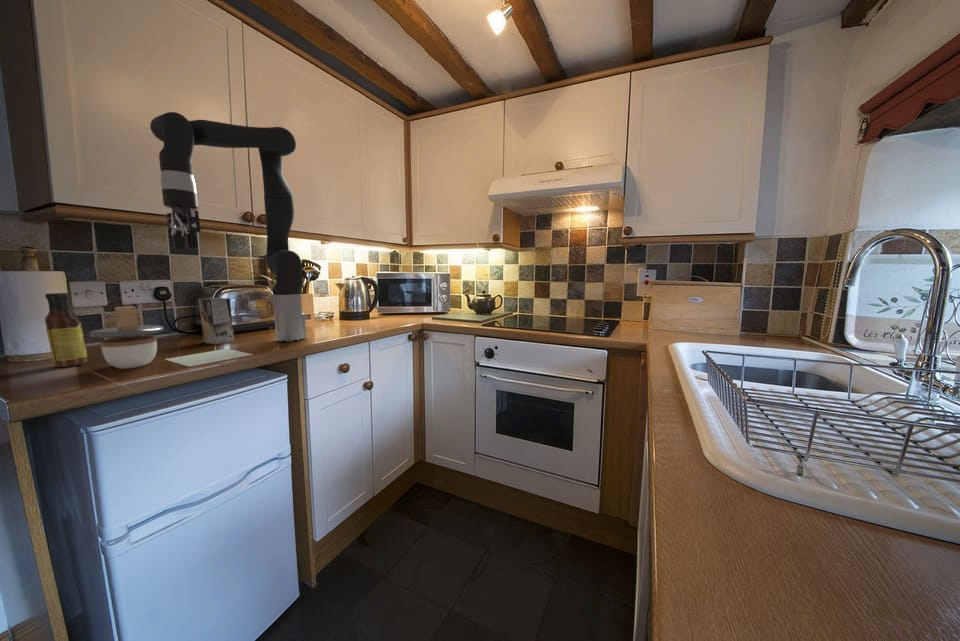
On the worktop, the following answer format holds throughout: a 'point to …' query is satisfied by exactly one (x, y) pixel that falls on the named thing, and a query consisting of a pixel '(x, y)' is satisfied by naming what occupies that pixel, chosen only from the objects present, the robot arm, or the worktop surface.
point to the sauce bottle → (64, 332)
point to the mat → (208, 357)
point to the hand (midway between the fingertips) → (186, 248)
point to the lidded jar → (129, 350)
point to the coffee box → (216, 320)
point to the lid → (126, 325)
